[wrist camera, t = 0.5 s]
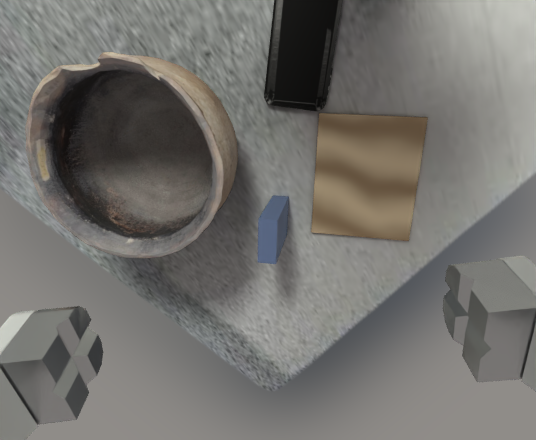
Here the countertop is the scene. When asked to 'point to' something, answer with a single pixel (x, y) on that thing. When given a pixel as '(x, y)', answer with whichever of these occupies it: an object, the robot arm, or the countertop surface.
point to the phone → (301, 53)
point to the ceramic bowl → (130, 153)
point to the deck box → (272, 229)
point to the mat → (367, 174)
